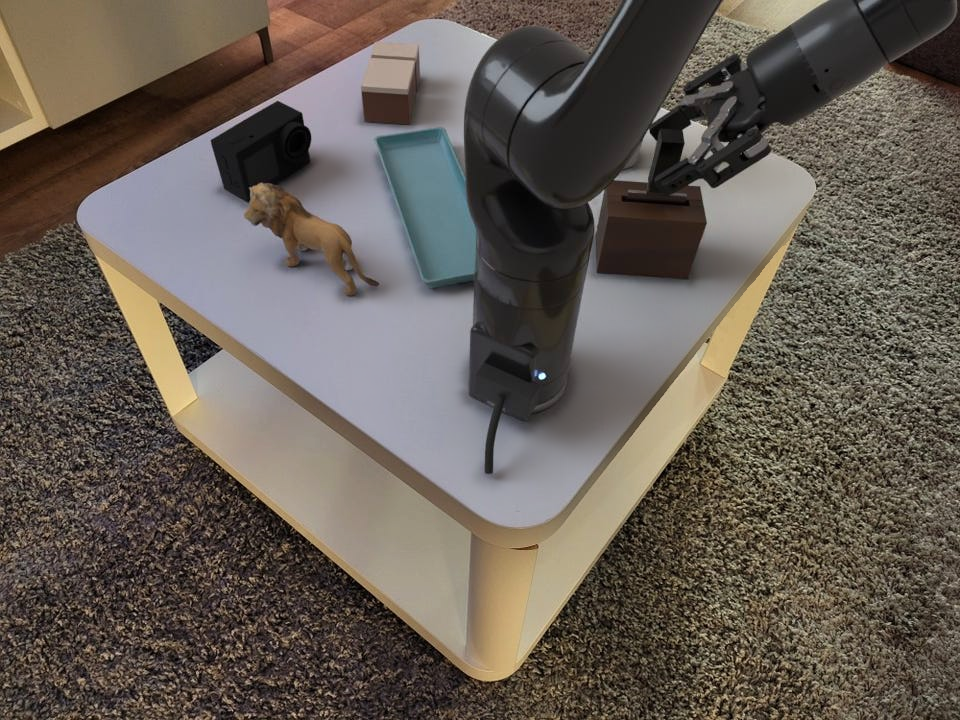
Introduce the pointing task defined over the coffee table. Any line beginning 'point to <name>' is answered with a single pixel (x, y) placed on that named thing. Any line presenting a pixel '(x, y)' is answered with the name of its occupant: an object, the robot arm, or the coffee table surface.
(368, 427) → the coffee table surface
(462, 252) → the teal serving tray
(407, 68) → the brown lidded box
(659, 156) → the knife
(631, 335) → the coffee table surface
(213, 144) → the digital camera
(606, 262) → the knife block
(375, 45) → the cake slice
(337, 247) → the lion figurine
